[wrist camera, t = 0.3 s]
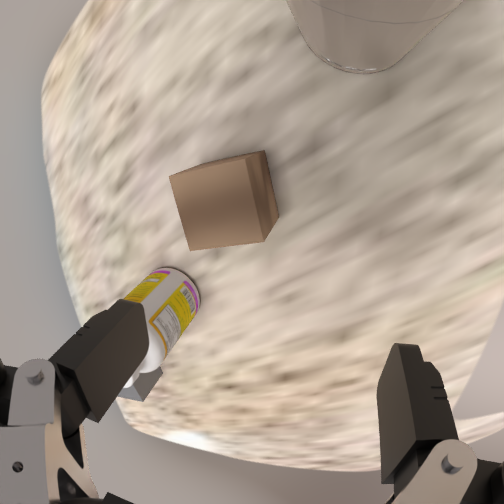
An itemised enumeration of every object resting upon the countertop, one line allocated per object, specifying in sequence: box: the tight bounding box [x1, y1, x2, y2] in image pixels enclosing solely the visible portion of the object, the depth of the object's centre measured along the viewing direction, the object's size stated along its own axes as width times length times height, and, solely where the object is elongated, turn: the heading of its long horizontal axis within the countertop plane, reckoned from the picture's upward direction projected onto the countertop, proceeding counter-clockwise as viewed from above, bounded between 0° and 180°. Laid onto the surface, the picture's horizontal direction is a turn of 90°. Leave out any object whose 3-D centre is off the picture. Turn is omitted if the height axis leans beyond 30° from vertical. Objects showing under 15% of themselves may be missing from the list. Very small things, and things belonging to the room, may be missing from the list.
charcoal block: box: [118, 366, 163, 402], centre depth 38 cm, size 6×6×6 cm
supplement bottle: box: [123, 268, 200, 388], centre depth 29 cm, size 7×7×13 cm
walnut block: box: [169, 150, 279, 251], centre depth 25 cm, size 6×6×6 cm
